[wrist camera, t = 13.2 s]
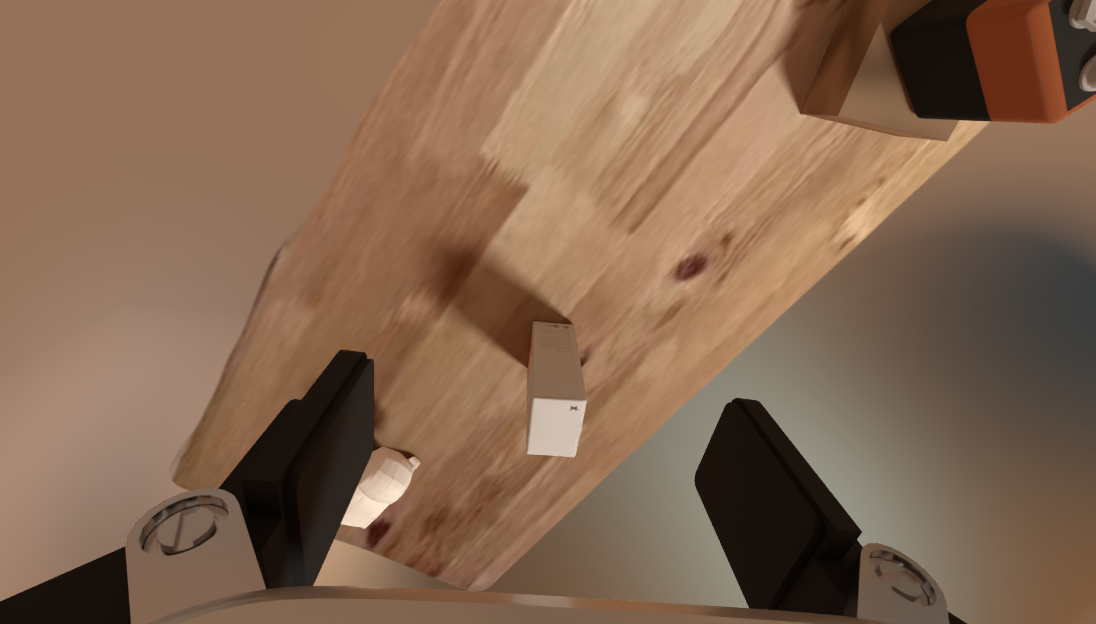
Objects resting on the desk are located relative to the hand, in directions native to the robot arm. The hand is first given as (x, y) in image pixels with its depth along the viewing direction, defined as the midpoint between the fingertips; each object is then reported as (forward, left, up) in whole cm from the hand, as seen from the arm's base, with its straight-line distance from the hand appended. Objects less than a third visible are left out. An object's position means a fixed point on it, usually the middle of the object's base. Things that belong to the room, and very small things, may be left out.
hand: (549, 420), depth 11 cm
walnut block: (-15, +24, -29) cm, 41 cm away
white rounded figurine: (+32, -13, -29) cm, 45 cm away
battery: (-15, +24, -24) cm, 37 cm away
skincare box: (+15, +4, -29) cm, 33 cm away
